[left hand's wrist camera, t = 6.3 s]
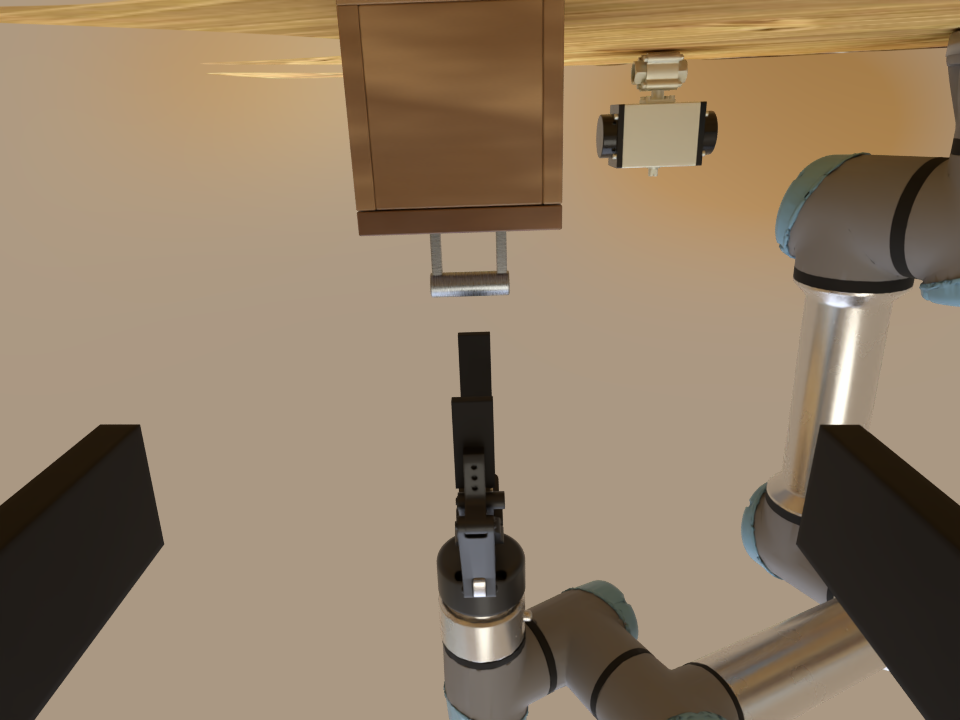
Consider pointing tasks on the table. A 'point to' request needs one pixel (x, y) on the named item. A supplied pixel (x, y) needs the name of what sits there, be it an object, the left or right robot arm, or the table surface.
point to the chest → (454, 101)
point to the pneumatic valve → (657, 121)
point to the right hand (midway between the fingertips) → (473, 361)
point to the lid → (463, 222)
